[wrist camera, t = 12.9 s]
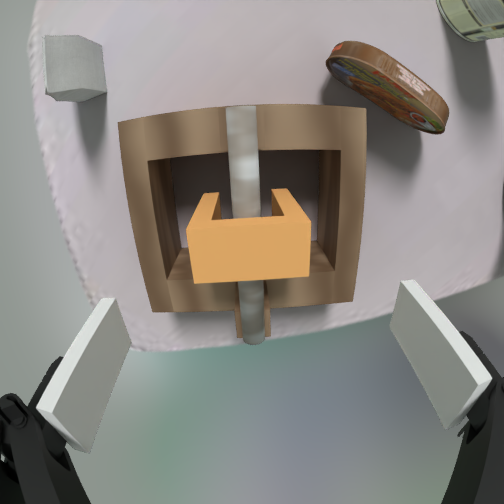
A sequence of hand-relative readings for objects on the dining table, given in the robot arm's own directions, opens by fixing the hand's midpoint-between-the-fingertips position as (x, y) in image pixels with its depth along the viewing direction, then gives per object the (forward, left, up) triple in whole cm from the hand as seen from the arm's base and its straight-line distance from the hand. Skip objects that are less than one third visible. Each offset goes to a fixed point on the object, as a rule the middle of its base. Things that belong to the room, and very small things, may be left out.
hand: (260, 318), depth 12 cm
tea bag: (+18, -18, -23) cm, 34 cm away
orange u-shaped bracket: (+1, 0, -17) cm, 17 cm away
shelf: (0, 0, -23) cm, 23 cm away
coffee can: (-33, -30, -23) cm, 50 cm away
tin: (-16, -13, -23) cm, 31 cm away
